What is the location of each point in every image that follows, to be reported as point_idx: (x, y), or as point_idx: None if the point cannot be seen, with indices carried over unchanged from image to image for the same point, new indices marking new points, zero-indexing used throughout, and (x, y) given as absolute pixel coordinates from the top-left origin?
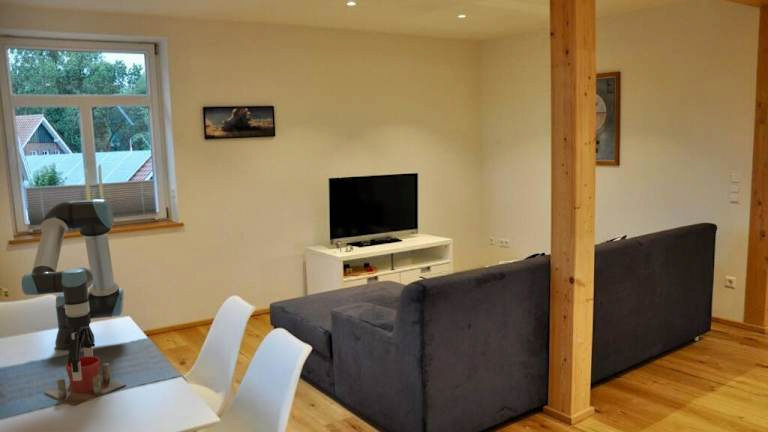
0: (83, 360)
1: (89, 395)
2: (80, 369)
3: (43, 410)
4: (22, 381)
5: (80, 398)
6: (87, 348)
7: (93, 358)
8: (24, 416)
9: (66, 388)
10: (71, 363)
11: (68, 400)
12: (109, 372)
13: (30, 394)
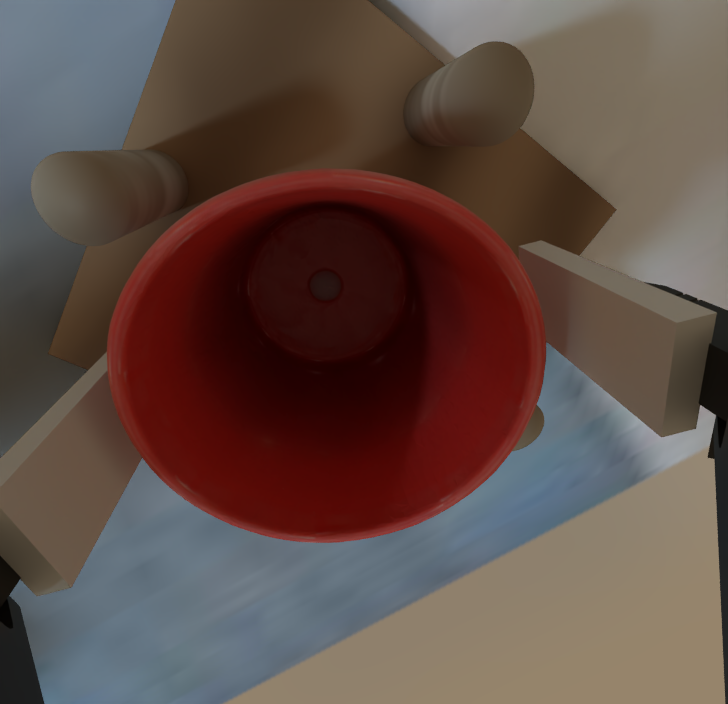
0: (191, 449)
1: (470, 167)
2: (615, 273)
3: None
4: (240, 646)
5: (516, 212)
6: (35, 548)
7: (138, 351)
8: None
9: None
10: (683, 417)
11: None
12: (112, 150)
13: (392, 536)
